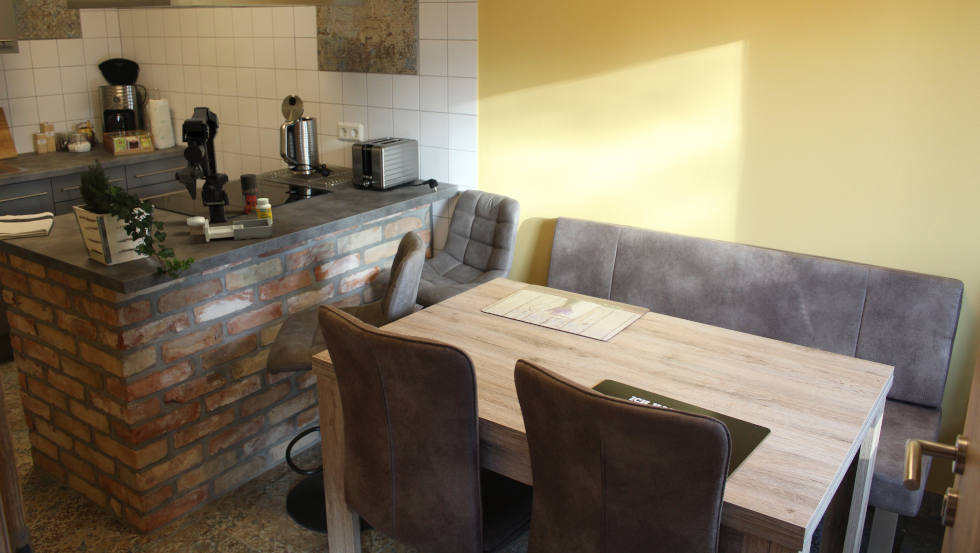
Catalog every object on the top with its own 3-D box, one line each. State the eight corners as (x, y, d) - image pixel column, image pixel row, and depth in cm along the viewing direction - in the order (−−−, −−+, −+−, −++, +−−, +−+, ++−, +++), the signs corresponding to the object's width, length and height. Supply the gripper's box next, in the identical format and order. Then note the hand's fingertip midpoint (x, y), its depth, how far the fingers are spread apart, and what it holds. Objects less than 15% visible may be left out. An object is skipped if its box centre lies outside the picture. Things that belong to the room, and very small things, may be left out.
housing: (233, 231, 265) (232, 221, 264) (270, 228, 269) (269, 218, 268) (234, 240, 254) (233, 229, 253) (273, 237, 258) (272, 226, 257)
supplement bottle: (270, 221, 279) (267, 197, 276) (274, 224, 275) (272, 199, 272) (256, 223, 277) (253, 198, 273) (260, 226, 272) (257, 201, 269)
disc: (187, 222, 264) (186, 216, 264) (205, 220, 266) (204, 215, 266) (187, 226, 259) (186, 220, 258) (204, 224, 261) (204, 219, 260)
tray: (205, 232, 262) (203, 219, 260) (243, 229, 266) (242, 216, 265) (204, 241, 251) (203, 227, 249) (244, 238, 255) (243, 224, 253)
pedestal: (191, 231, 265) (189, 222, 264) (204, 230, 266) (202, 221, 265) (190, 234, 261) (189, 225, 260) (203, 233, 262) (202, 224, 261)
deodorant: (241, 213, 292) (236, 176, 287) (250, 209, 297) (247, 173, 292) (253, 214, 290) (249, 177, 285) (262, 211, 295) (258, 174, 290)
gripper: (159, 159, 246) (166, 204, 251) (204, 163, 239) (210, 209, 245) (183, 153, 255) (190, 196, 261) (227, 157, 249) (232, 201, 255)
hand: (204, 201), depth 255 cm, fingers open, 9 cm apart
